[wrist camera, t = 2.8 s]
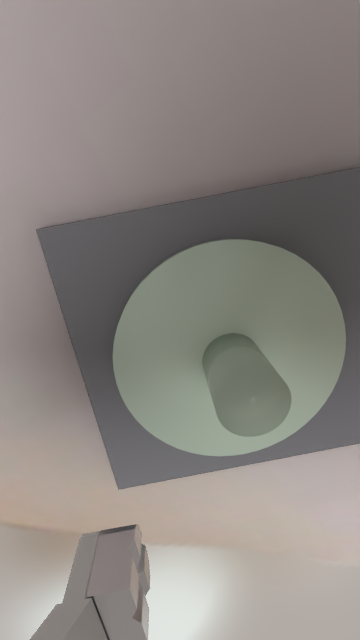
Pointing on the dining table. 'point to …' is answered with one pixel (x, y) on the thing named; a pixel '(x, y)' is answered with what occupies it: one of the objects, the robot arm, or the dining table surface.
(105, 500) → the dining table surface
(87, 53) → the dining table surface
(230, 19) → the dining table surface
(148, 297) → the lid
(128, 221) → the mat
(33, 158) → the dining table surface
